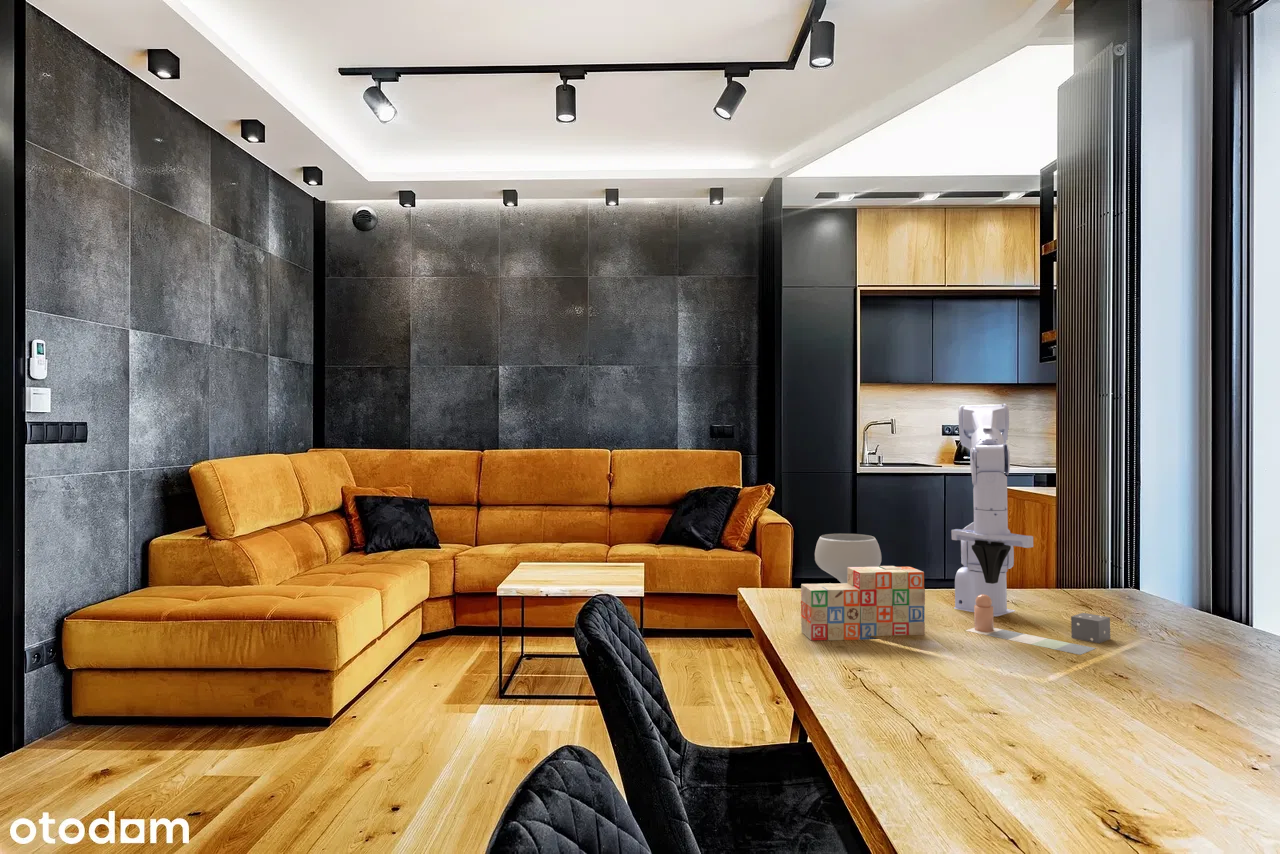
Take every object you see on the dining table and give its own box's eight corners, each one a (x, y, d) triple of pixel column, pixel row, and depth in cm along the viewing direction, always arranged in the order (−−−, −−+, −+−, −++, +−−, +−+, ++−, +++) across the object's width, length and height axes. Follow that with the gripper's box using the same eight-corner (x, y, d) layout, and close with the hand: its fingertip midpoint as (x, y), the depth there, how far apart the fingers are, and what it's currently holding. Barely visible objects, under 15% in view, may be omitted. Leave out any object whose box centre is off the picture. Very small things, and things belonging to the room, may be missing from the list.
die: (1071, 641, 134) (1070, 615, 134) (1083, 637, 137) (1082, 612, 137) (1099, 647, 130) (1098, 620, 130) (1111, 643, 133) (1110, 616, 133)
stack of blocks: (810, 641, 136) (809, 573, 136) (800, 633, 142) (800, 567, 142) (925, 638, 137) (924, 570, 137) (911, 629, 143) (910, 565, 144)
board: (965, 633, 140) (965, 630, 140) (982, 628, 143) (982, 625, 143) (1080, 658, 124) (1080, 654, 124) (1096, 651, 127) (1096, 648, 127)
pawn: (971, 629, 140) (970, 594, 140) (980, 626, 142) (979, 591, 142) (987, 633, 138) (987, 596, 138) (997, 630, 140) (996, 594, 140)
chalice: (868, 598, 171) (867, 532, 171) (892, 612, 157) (891, 540, 157) (807, 600, 170) (806, 533, 170) (826, 614, 156) (825, 541, 156)
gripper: (942, 508, 143) (943, 579, 143) (1019, 513, 132) (1020, 591, 131) (962, 505, 147) (963, 575, 147) (1038, 510, 136) (1039, 586, 136)
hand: (991, 582), depth 140 cm, fingers closed
